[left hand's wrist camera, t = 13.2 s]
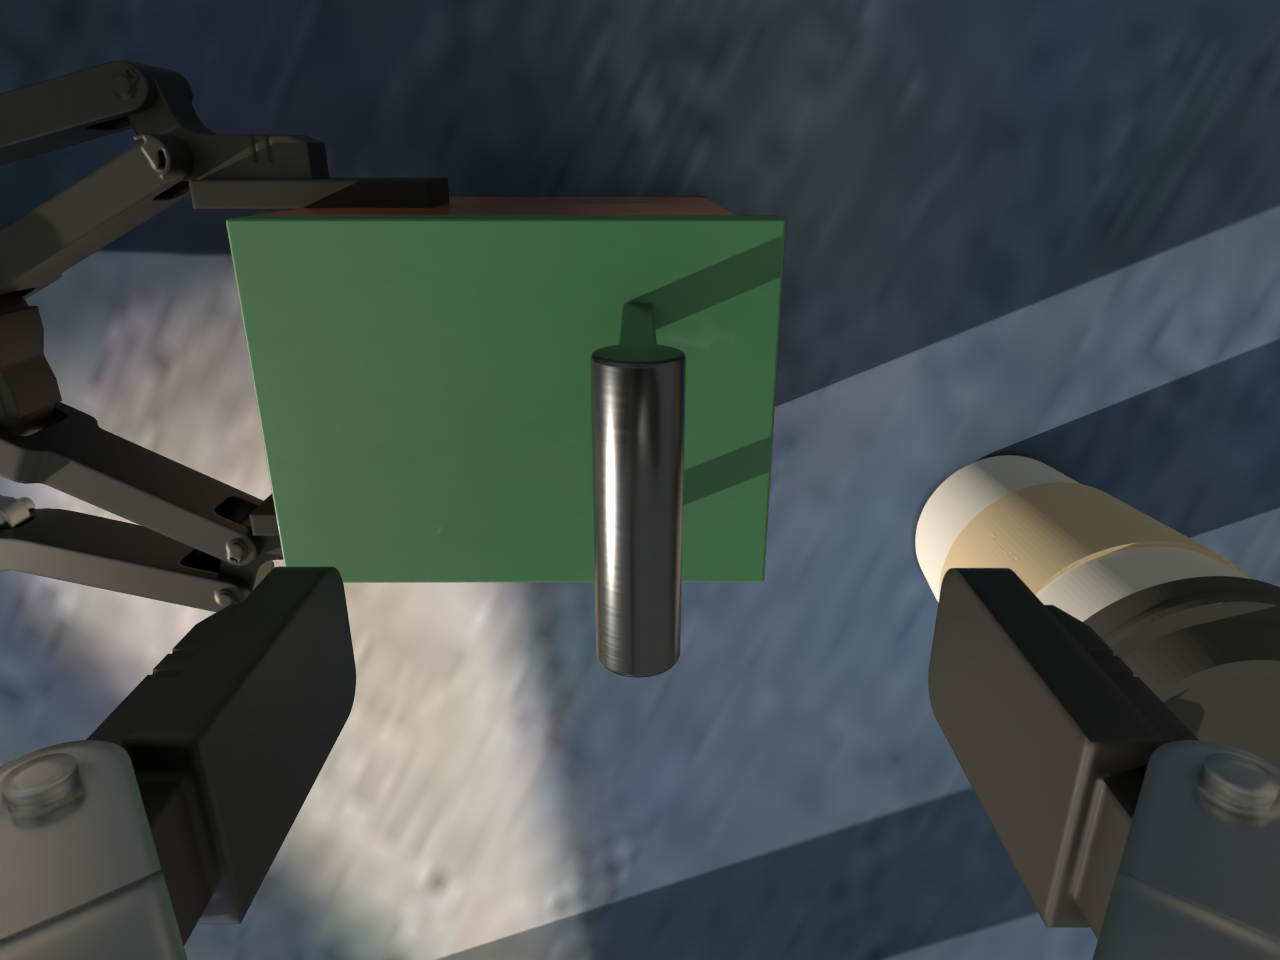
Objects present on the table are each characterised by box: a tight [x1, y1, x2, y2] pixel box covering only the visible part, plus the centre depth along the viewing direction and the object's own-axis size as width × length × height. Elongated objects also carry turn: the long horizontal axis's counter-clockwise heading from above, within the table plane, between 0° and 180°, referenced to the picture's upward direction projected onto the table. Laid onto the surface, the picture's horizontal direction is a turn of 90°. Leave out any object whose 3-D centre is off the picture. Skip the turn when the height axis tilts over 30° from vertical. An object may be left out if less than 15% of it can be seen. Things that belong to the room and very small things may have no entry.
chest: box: [255, 196, 736, 215], centre depth 27 cm, size 12×9×11 cm
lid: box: [226, 215, 786, 677], centre depth 18 cm, size 13×9×8 cm
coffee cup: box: [915, 455, 1280, 767], centre depth 28 cm, size 9×9×15 cm
